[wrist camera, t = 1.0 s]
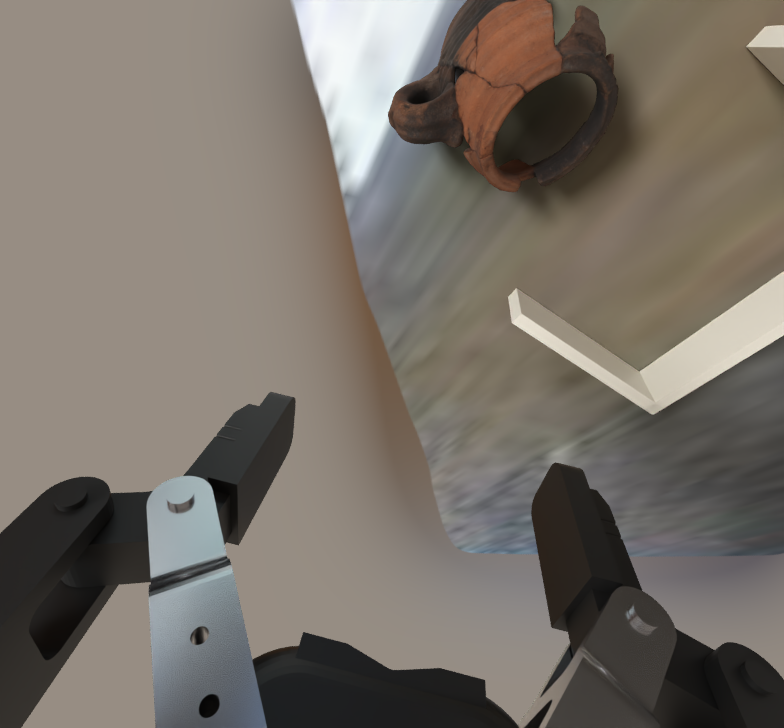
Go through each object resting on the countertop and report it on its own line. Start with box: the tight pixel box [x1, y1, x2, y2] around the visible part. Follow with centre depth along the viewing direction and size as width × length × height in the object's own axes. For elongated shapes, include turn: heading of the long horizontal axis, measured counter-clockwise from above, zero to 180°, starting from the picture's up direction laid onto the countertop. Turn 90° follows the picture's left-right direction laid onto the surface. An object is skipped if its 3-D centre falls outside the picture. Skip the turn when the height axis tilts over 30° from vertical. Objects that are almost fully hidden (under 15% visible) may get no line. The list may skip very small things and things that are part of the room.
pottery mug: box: [388, 0, 618, 192], centre depth 23 cm, size 12×10×8 cm
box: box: [508, 25, 784, 415], centre depth 28 cm, size 15×20×4 cm
